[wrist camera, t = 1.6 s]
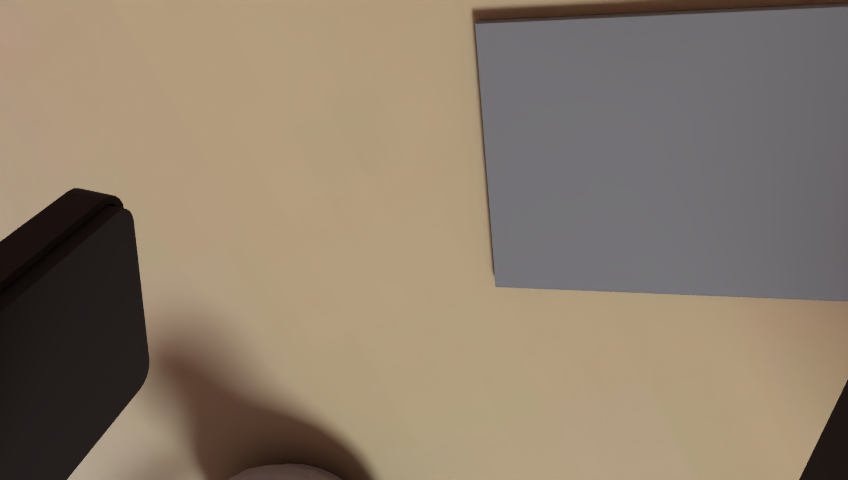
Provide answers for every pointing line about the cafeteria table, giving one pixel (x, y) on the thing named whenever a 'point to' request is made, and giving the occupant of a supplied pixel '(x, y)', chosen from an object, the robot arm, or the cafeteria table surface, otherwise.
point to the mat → (669, 151)
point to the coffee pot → (285, 473)
